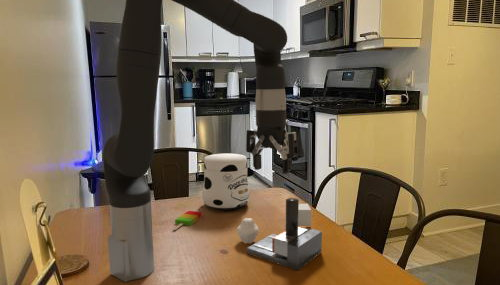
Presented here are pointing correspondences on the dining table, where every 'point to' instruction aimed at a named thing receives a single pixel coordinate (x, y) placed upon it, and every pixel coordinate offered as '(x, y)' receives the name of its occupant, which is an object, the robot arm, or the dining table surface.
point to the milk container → (225, 181)
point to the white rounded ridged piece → (247, 230)
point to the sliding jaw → (288, 228)
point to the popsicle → (187, 219)
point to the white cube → (304, 215)
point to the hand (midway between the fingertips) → (271, 171)
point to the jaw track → (290, 249)
